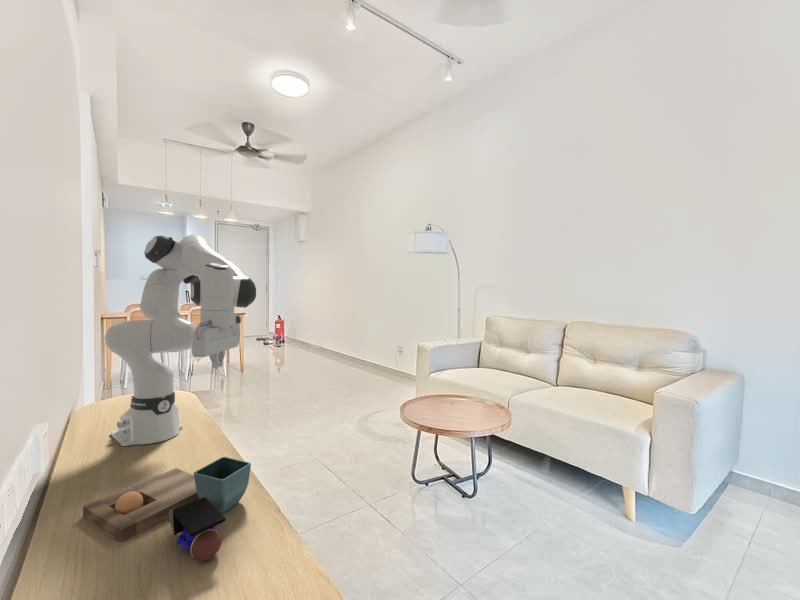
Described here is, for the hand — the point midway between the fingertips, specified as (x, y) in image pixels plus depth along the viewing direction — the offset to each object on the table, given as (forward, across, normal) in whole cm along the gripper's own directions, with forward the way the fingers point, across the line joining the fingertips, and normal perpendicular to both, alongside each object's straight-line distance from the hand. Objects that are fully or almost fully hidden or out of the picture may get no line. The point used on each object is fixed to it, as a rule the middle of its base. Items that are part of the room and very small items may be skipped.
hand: (217, 367), depth 108 cm
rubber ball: (+25, -27, +5) cm, 37 cm away
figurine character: (+28, -35, -14) cm, 47 cm away
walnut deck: (+27, -23, +3) cm, 36 cm away
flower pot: (+27, -22, -13) cm, 38 cm away
